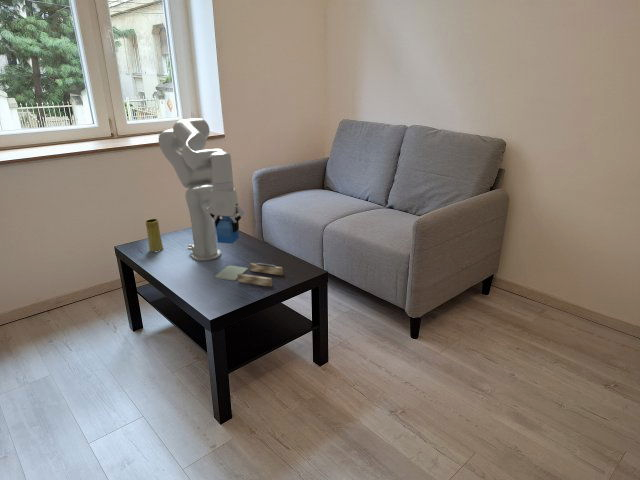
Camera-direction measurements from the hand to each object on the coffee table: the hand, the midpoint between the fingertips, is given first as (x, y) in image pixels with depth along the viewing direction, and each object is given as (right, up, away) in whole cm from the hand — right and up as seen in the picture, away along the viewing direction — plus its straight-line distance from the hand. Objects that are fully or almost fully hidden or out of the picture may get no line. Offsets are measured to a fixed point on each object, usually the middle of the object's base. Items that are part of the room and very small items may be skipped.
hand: (227, 230), depth 172 cm
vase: (-39, -9, +32) cm, 51 cm away
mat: (0, -17, +7) cm, 19 cm away
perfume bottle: (0, -4, +2) cm, 4 cm away
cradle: (+13, -19, +3) cm, 23 cm away
